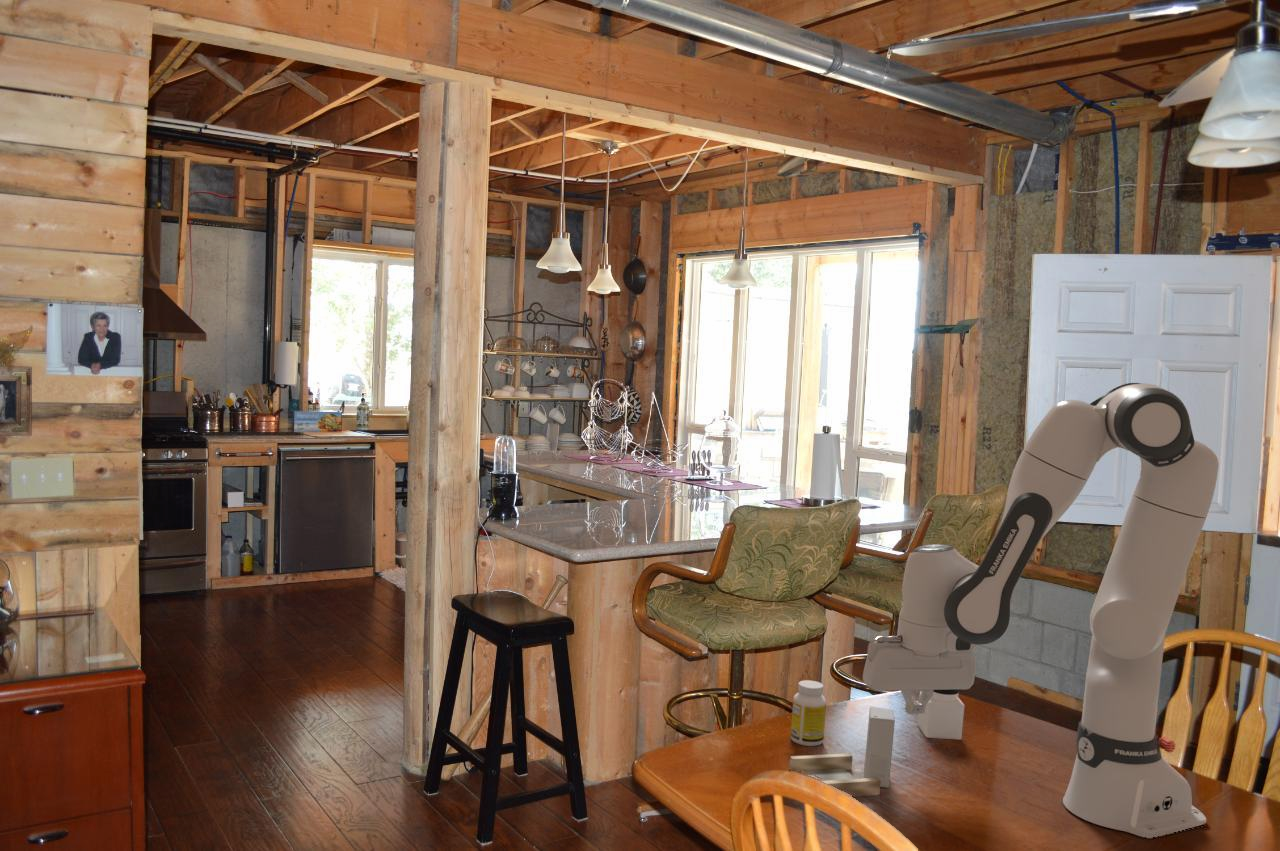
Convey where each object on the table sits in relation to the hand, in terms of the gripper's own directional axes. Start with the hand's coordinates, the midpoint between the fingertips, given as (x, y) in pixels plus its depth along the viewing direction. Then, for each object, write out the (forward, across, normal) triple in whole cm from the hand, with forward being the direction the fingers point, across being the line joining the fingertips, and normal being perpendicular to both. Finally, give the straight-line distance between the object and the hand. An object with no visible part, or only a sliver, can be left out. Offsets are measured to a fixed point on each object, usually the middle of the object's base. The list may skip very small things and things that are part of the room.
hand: (914, 712), depth 180 cm
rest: (+12, -15, 0) cm, 19 cm away
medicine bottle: (+12, +18, +18) cm, 28 cm away
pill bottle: (+12, -11, +18) cm, 24 cm away
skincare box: (+12, -6, 0) cm, 14 cm away
